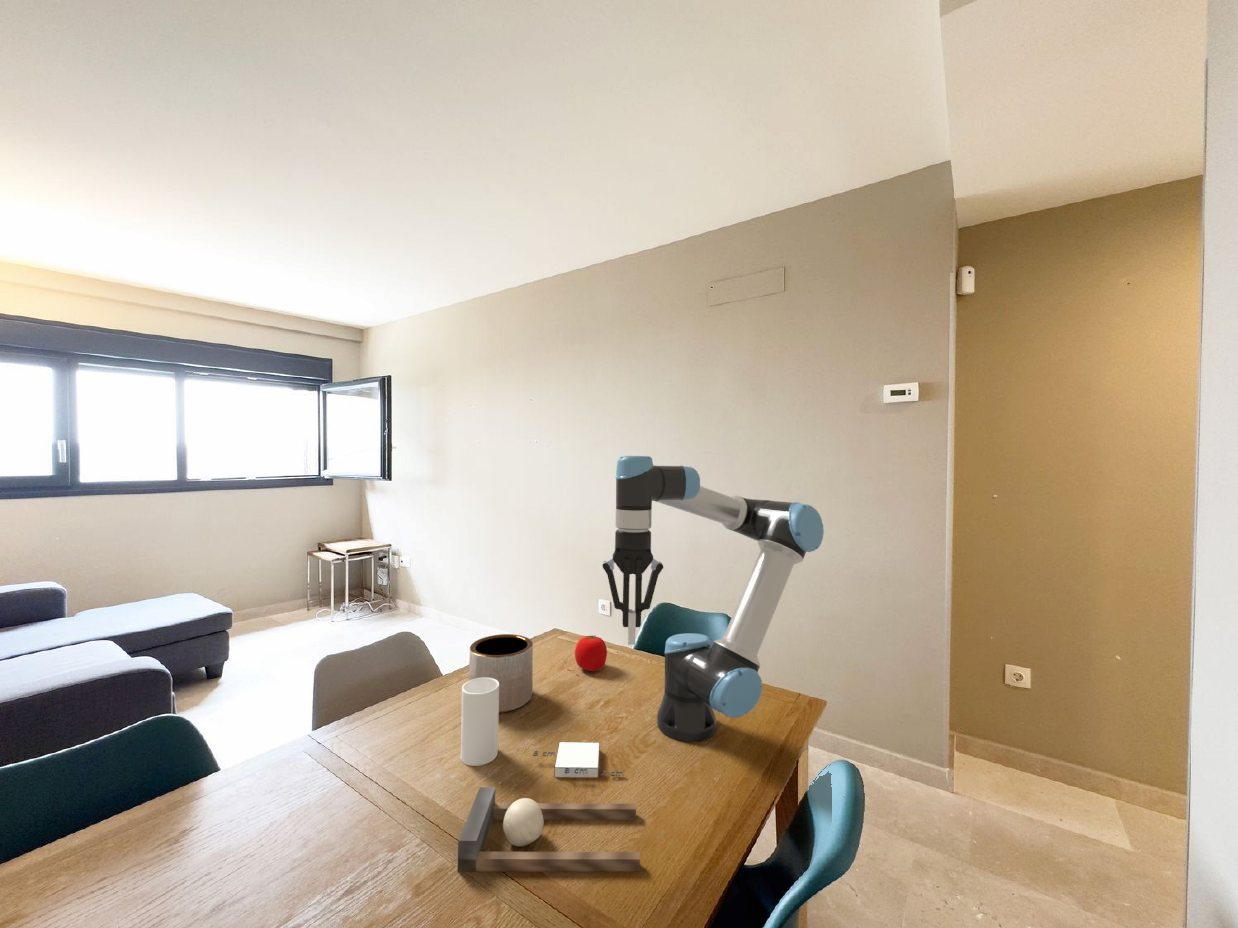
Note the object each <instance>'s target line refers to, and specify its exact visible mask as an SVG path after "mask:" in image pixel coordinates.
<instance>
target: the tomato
mask: <svg viewBox="0 0 1238 928" xmlns="http://www.w3.org/2000/svg"><path fill="white" fill-rule="evenodd" d="M607 657H608V650H607V644H606V643H605V640H603V638H602V637H599V636H597V634H595V635H585V636H583V637H581V638H580V639H579V640H578V642H577V643H576V646H575V649H574V658H575V662H576V664H577V666H578V667H579V668H580V669H582V670H584V671H588V672H597V671H600V670H601V669H603V667H604V666H605V664H606V662H607Z"/></svg>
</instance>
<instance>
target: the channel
mask: <svg viewBox="0 0 1238 928" xmlns="http://www.w3.org/2000/svg"><path fill="white" fill-rule="evenodd" d="M512 803H513V802H508V803H507V802H498V803H497V802H496V787H495V786H493V787H490V786H488V787H486V786H485V787H483V786H481V787H479V788H478V791H477V793H476V796H475V798H474V801H473V803H472V806H471V808H470V810H469V813H468V816H467V818H466V820H465V822H464V826H463V827H462V828H463V829H462V831H461V833H460V836H459V838H458V841H457V872H640V871H641V870H640V869H641V868H640V867H641V862H640V861H641V857H640V856H641V855H640V851H484V849H485V844H486V841H487V839H488V836H489V833H490V830H491V826H492V823H493V821H494V820H504V817H505V814H506V812H507V810H508V808H509V807H510V805H511V804H512ZM536 803H537V804H538V805H539V807H540V809H541V811H542V815H543V820H550V821H551V820H553V821H554V820H558V821H559V820H560V821H561V820H564V821H565V820H567V821H568V820H569V821H570V820H586V821H587V820H589V821H591V820H593V821H594V820H596V821H597V820H598V821H599V820H602V821H603V820H604V821H605V820H606V821H607V820H609V821H616V820H617V821H624V820H625V821H635V820H636V821H637V805H636V803H599V802H598V803H592V802H591V803H586V802H585V803H583V802H581V803H579V802H578V803H572V802H571V803H569V802H568V803H567V802H566V803H563V802H562V803H560V802H558V803H556V802H555V803H554V802H552V803H551V802H549V803H548V802H547V803H543V802H540V803H539V802H536Z"/></svg>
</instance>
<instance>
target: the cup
mask: <svg viewBox="0 0 1238 928" xmlns="http://www.w3.org/2000/svg"><path fill="white" fill-rule="evenodd" d="M499 714H500V713H499V682H498V681H497V680H495V679H493V678H476V679H472V680H470V681H469V680H468V681H466V682H465V683H463V685H462V686H461V719H460V720H461V721H460V723H461V724H460V726H461V727H460V761H461V762H462V764H465V765H466V766H473V767H477V766H478V767H479V766H483V765H486V764H489V763H491V762H492V761H494V760H495V759H496V757H497V756H498V753H499V752H498V751H499Z"/></svg>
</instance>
